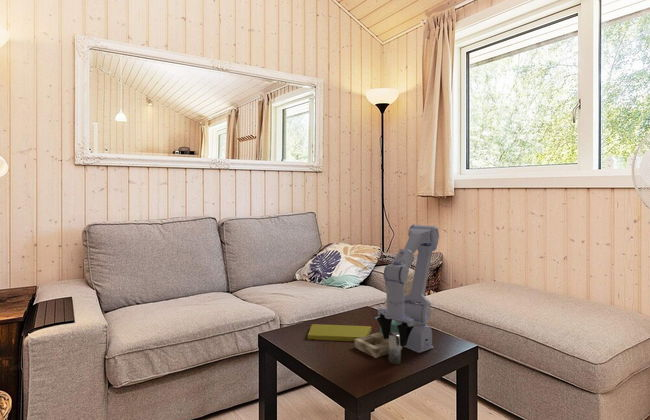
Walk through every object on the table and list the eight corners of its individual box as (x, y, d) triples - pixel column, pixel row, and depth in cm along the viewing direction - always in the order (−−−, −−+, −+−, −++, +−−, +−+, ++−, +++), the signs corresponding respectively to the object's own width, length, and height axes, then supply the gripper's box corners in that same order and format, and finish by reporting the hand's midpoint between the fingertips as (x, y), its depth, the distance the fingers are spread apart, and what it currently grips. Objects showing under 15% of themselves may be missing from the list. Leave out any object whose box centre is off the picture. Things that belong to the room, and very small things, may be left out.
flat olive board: (307, 340, 150) (371, 343, 148) (307, 335, 150) (371, 337, 148) (312, 329, 162) (371, 331, 160) (312, 324, 162) (371, 326, 160)
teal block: (402, 340, 141) (403, 323, 141) (395, 342, 139) (396, 325, 139) (381, 331, 150) (381, 315, 150) (374, 333, 148) (374, 317, 148)
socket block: (402, 349, 141) (402, 340, 141) (375, 358, 134) (375, 349, 134) (381, 339, 150) (381, 331, 150) (354, 347, 143) (354, 339, 143)
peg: (403, 361, 131) (403, 335, 130) (394, 365, 128) (395, 337, 128) (394, 357, 134) (395, 331, 134) (386, 360, 132) (386, 334, 131)
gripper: (371, 297, 134) (370, 337, 134) (403, 308, 122) (402, 351, 123) (386, 294, 138) (386, 333, 139) (418, 304, 126) (418, 346, 127)
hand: (394, 341), depth 131 cm, fingers open, 7 cm apart
